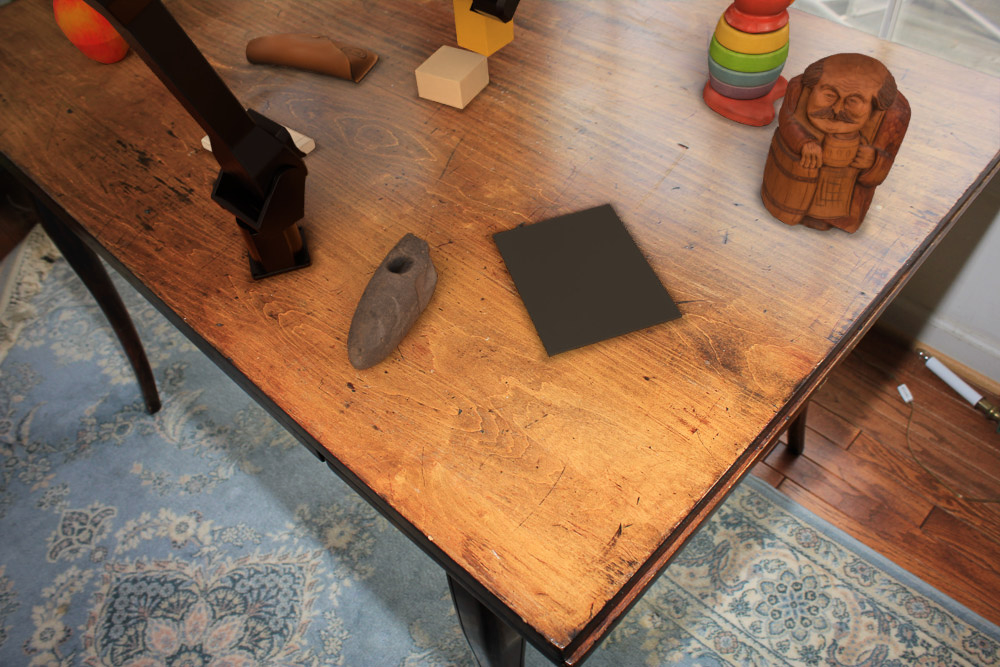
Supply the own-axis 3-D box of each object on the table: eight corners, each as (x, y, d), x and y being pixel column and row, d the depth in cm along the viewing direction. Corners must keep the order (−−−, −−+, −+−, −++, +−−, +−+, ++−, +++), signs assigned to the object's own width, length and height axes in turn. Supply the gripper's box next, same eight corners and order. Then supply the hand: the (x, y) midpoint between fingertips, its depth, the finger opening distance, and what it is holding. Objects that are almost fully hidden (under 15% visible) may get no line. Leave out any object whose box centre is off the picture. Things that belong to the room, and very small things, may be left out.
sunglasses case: (382, 52, 108) (363, 26, 101) (367, 97, 107) (347, 73, 101) (278, 36, 113) (254, 10, 107) (264, 78, 112) (238, 54, 106)
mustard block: (487, 57, 89) (481, -27, 82) (457, 45, 92) (448, -38, 84) (514, 39, 92) (510, -44, 84) (484, 28, 94) (477, -54, 86)
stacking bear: (768, 130, 91) (805, -14, 78) (689, 112, 95) (711, -29, 81) (791, 85, 97) (829, -56, 84) (715, 69, 101) (740, -69, 87)
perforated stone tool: (381, 391, 70) (366, 345, 64) (334, 374, 71) (316, 328, 66) (453, 283, 78) (445, 234, 73) (409, 270, 80) (399, 221, 74)
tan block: (462, 109, 98) (459, 82, 95) (419, 96, 101) (414, 70, 98) (489, 82, 102) (487, 55, 99) (446, 71, 105) (443, 44, 102)
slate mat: (681, 317, 73) (682, 315, 73) (548, 357, 71) (548, 354, 71) (609, 205, 84) (609, 203, 84) (492, 237, 82) (492, 234, 82)
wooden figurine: (749, 217, 82) (788, 68, 68) (760, 182, 85) (799, 34, 72) (863, 242, 78) (928, 90, 64) (869, 204, 82) (933, 53, 68)
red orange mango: (68, 69, 111) (24, -10, 102) (109, 39, 116) (70, -39, 107) (116, 79, 109) (75, -1, 99) (156, 48, 114) (120, -31, 105)
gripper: (516, -125, 69) (583, -47, 83) (380, -159, 78) (461, -83, 91) (467, -8, 72) (540, 49, 85) (340, -53, 80) (425, 5, 94)
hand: (490, 1), depth 89 cm, fingers closed on mustard block, 5 cm apart
